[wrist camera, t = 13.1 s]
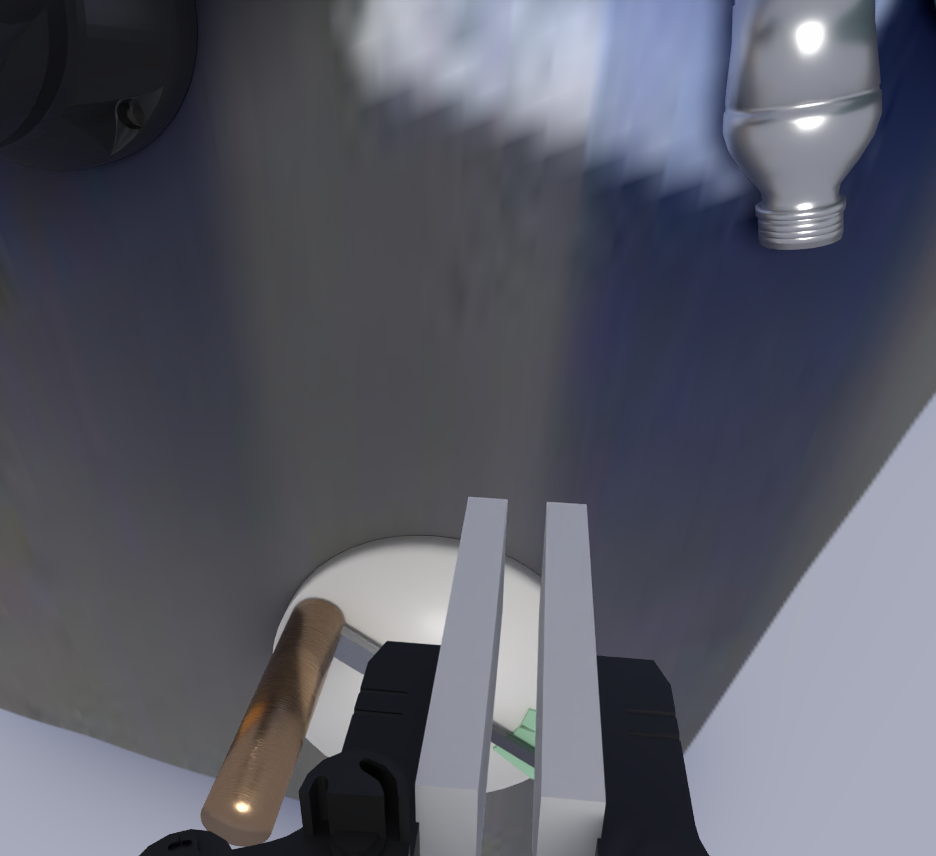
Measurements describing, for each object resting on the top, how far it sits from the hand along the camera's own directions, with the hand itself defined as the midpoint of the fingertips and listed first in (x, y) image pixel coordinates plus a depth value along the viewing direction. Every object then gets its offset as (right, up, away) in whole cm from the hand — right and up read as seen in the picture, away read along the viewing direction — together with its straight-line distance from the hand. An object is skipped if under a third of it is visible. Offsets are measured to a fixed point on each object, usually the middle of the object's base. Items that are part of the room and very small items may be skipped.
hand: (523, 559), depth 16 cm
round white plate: (-4, -14, +41) cm, 43 cm away
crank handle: (-4, -15, +38) cm, 42 cm away
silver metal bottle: (+11, +30, +13) cm, 34 cm away
